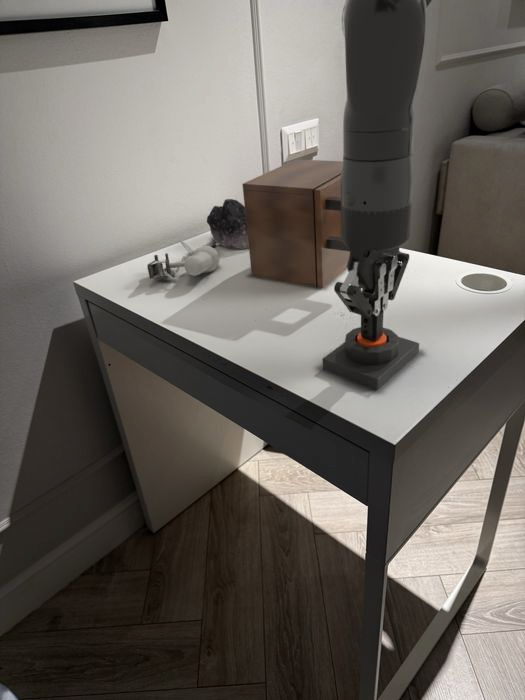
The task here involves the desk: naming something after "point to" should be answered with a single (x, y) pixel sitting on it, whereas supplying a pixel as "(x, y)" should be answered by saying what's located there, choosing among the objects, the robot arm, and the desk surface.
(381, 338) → the release button
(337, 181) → the cabinet door
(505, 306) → the desk surface
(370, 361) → the button box
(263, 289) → the desk surface
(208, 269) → the clip-on lamp
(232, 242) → the crystal cluster
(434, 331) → the desk surface
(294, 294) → the desk surface
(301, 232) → the cabinet
